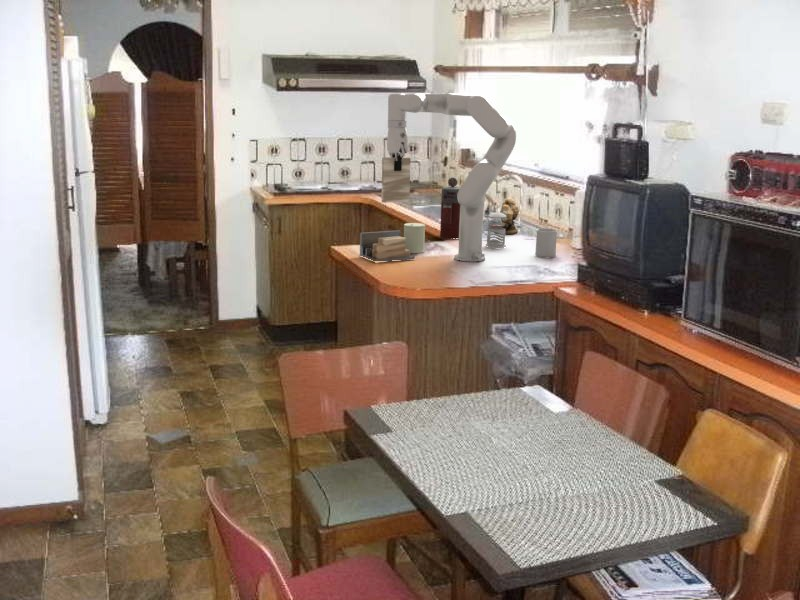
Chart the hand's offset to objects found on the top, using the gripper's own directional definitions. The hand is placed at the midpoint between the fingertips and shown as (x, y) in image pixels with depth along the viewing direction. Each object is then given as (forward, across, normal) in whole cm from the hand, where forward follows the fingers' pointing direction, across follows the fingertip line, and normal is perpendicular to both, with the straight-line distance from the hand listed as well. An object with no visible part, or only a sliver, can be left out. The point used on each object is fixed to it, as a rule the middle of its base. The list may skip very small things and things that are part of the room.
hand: (396, 170), depth 366 cm
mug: (+35, -25, -60) cm, 74 cm away
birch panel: (+13, 0, 0) cm, 13 cm away
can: (+35, +3, -11) cm, 37 cm away
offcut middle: (+31, -10, +8) cm, 34 cm away
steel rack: (+35, -7, +7) cm, 36 cm away
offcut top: (+29, -10, +7) cm, 31 cm away
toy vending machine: (+35, +27, -44) cm, 62 cm away
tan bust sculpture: (+35, +31, -77) cm, 91 cm away
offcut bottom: (+34, -10, +7) cm, 36 cm away
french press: (+35, 0, -50) cm, 61 cm away
